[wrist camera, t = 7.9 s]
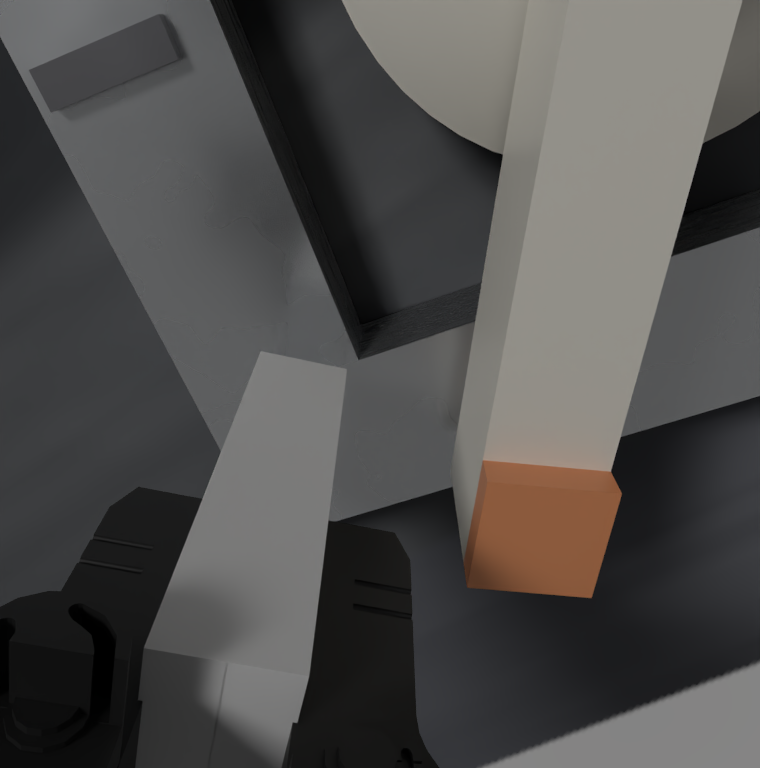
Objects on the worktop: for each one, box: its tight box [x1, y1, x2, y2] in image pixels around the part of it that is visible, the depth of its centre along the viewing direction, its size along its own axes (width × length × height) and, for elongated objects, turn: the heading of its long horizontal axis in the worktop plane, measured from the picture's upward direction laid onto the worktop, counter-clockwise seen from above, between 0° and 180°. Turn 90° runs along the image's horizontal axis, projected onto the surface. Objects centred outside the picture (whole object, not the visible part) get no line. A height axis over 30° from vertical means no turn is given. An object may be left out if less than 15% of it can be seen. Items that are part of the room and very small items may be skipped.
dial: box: [342, 0, 760, 598], centre depth 11 cm, size 15×9×6 cm, turn 174°
